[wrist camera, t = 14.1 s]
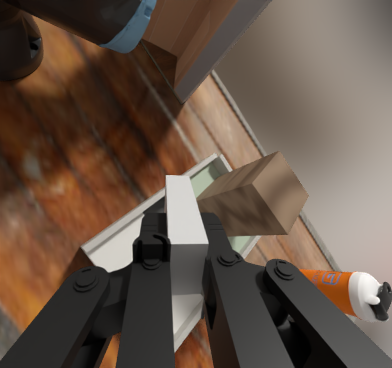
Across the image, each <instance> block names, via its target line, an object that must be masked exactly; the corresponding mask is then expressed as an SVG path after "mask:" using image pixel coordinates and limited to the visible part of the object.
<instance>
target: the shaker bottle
mask: <svg viewBox="0 0 392 368" xmlns="http://www.w3.org/2000/svg"><path fill="white" fill-rule="evenodd" d="M299 270H300V271H301V272H302V273H303V274H304V275H305V276H306V277H307V278H308V279H309V280H310V281H311V282H312V283H313V284H314V285H315V286H316V287H317V288H318V289H319V290H320V291H321V292H322V293H323V294H325V295H326V296H327V297H328V298H329V299H330V300H331V301H332V302H333V303H334V304H335V305H336V306H337V307H338V308H339V309H340V310H341V311H342V312H343V313H345V314H349V315H352V316H355V317H358V318H359V319H361V320H365V321H369V322H375V321H382V322H385V321H387V320H388V319H389V316H388V314H387V310H388V309H389V307H390V304H391V301H392V290H391V287H390V285H389V284H388V283H387V282H384V283H383V285H382V284H379V283H378V282H377V281H376V279H375V278H373V277H372V276H371V275H369V274H368V273H364V272H353V273H351V272H336V271H320V270H304V269H299Z"/></svg>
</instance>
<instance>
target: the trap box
mask: <svg viewBox="0 0 392 368" xmlns="http://www.w3.org/2000/svg"><path fill="white" fill-rule="evenodd" d="M231 171H233V170H232V169H231V167H230V166H229V164H228V162H227V161H226V159H225V158H224V156H223V155H222V154H221V155H220V156H217V154H216V153H214V154H212V155H210V156H209V157H207V158H205V159H204V160H202V161H201V162H199V163H198V164H196V165H195V166H194V167H192V168H191V169H189V170H188V171H186V172H185V173H184V174H182V175H181V176H189V178H190V181H191V185H192V188H193V192H194V195H195V198H197V197H198V196H199V195H200V194H201V193H202V192H203V191H204V190H205V189H206V188H207V187H208V186H209V185H210V184H211V183H212V182H213V181H214V180H215V179H216V178H217V177H219V176H221V175H224V174H226V173H228V172H231ZM164 208H165V187H164V188H162V189H161V190H159V191H158V192H157V193H155V194H154V195H152V196H151V197H150V198H148V199H147V200H145V201H144V202H142V203H141V204H140V205H138V206H137V207H135V208H134V209H132V210H131V211H130V212H128V213H127V214H125V215H124V216H123V217H121V218H120V219H118V220H117V221H115V222H114V223H113V224H111V225H110V226H108V227H107V228H106V229H104V230H103V231H101V232H100V233H98V234H97V235H96V236H94V237H93V238H91V239H90V240H88V241H87V242H86V243H84V244H83V245H81V246H80V247H81V249H82V250H83V251H84V252H85V254H86V255H87V256H88V258H89V259H90V260H91V262H92V263H93V264H94V265H95V266H99V267H102V268H104V269H105V270H106V271H107V272H112V271H115V270H119V269H121V268H124V267H125V266H127V265H129V264H130V263H131V262H132V261H133V251H132V244H133V242H134V240H135V239H136V238H137V237H139V234H140V228H141V222H142V218H143V217H144V216H145V214H146V213H164ZM261 236H262V235H261ZM261 236H233V237H228V240H229V242H230V244H231V247H232V249H233V250H235V251H236V252H238V253H239V254H240V255H241V256H242V257H243V259H245V257H246V256H247V255H248V253H249V252H250V251H251V249H252V248H253V247H254V245H255V244H256V242H257V241H258V240H259V238H260V237H261ZM203 299H204V293H203V287H202V289H201V294H190V295H173V296H172V312H173V333H174V353H175V352H176V350H177V349H178V348H179V346H180V345H181V344H182V342H183V341H184V340H185V338H186V337H187V335H188V334H189V333H190V331H191V330H192V329H193V327H194V326H195V325H196V323H197V322H198V321H199V319H200V318H201V310H202V304H203Z"/></svg>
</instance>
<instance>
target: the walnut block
mask: <svg viewBox="0 0 392 368" xmlns="http://www.w3.org/2000/svg"><path fill="white" fill-rule="evenodd" d="M308 196H309V195H308V194H307V192H306V191H305V189H304V188H303V186H302V184H301V183H300V181H299V180H298V179H297V177H296V175H295V174H294V172H293V171H292V169H291V168H290V166H289V165H288V163H287V162H286V160H285V159H284V157H283V156H282V154H281V152H280V151H277V152H275V153H272V154H270V155H268V156H265V157H263V158H261V159H258V160H256V161H254V162H252V163H249V164H247V165H245V166H242V167H240V168H238V169H235V170H233V171H231V172H228V173H226V174H224V175H221V176H219V177H217V178H216V179H215V180H214V181H213V182H212V183H211V184H210V185H209V186H208V187H207V188H206V189H205V190H204V191H203V192H202V193H201V194H200V195H199V196H198V197H197V198H196V202H197V205H198V209H199V212H207V213H214V214H215V215H216V216H218V217H219V219H220V221H221V223H222V226H223V228H224V231H225V233H226V235H227V237H233V236H261V235H288V234H289V232H290V230H291V228H292V226H293V224H294V222H295V221H296V219H297V217H298V215H299V213H300V211H301V210H302V208H303V206H304V204H305V202H306V200H307V198H308Z"/></svg>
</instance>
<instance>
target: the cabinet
mask: <svg viewBox="0 0 392 368" xmlns="http://www.w3.org/2000/svg"><path fill="white" fill-rule="evenodd" d="M271 1H272V0H157V2H156V5H155V7H154V10H153V11H152V13H151V15H150V21H149V24H148V26H147V28H146V30H145V32H144V34H143V36H142V38H141V40H140V42H141V43H142V45H143V46H144V48H145V50H146V51H147V53H148V54H149V56H150V57H151V59H152V60H153V62H154V63H155V65H156V67H157V68H158V70H159V71H160V73H161V74H162V76H163V77H164V79H165V80H166V82H167V84H168V85H169V87H170V88H171V90H172V91H173V93H174V94H175V96H176V97H177V99H178V101H179V102H180V104H182V103H185V102H186V101H187V100H188V99H189V97H190V96H191V95H192V94H193V93H194V91H195V90H196V89H197V88H198V87H199V86H200V84H201V83H202V82H203V81H204V80H205V79H206V77H207V76H208V75H209V74H210V73H211V71H212V70H213V69H214V68H215V67H216V66H217V64H218V63H219V62H220V61H221V60H222V59H223V57H224V56H225V55H226V54H227V53H228V52H229V50H230V49H231V48H232V47H233V46H234V44H235V43H236V42H237V41H238V40H239V39H240V37H241V36H242V35H243V34H244V33H245V31H246V30H247V29H248V28H249V27H250V25H251V24H252V23H253V22H254V21H255V20H256V19H257V17H258V16H259V15H260V14H261V13H262V11H263V10H264V9H265V8H266V7H267V6H268V4H269V3H270V2H271Z"/></svg>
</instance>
